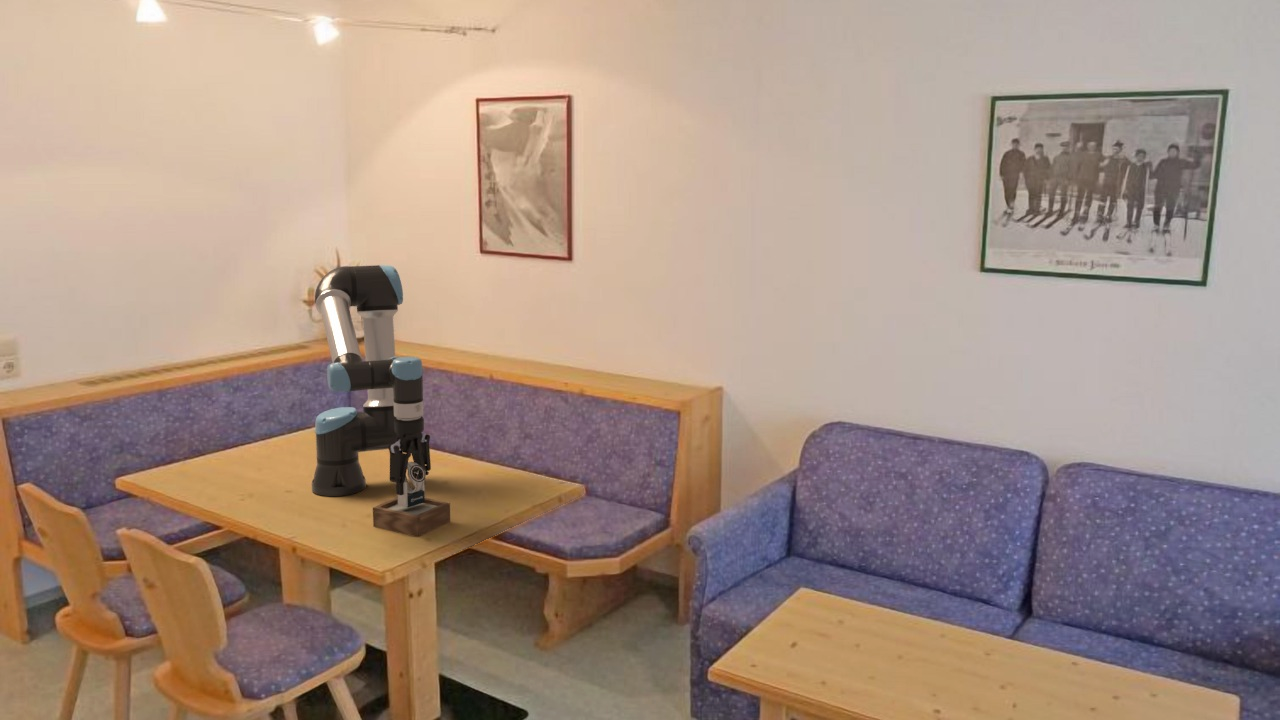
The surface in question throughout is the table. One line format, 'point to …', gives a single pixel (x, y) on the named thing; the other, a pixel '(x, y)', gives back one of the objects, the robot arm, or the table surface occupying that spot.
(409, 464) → the watch
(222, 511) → the table surface
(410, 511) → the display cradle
